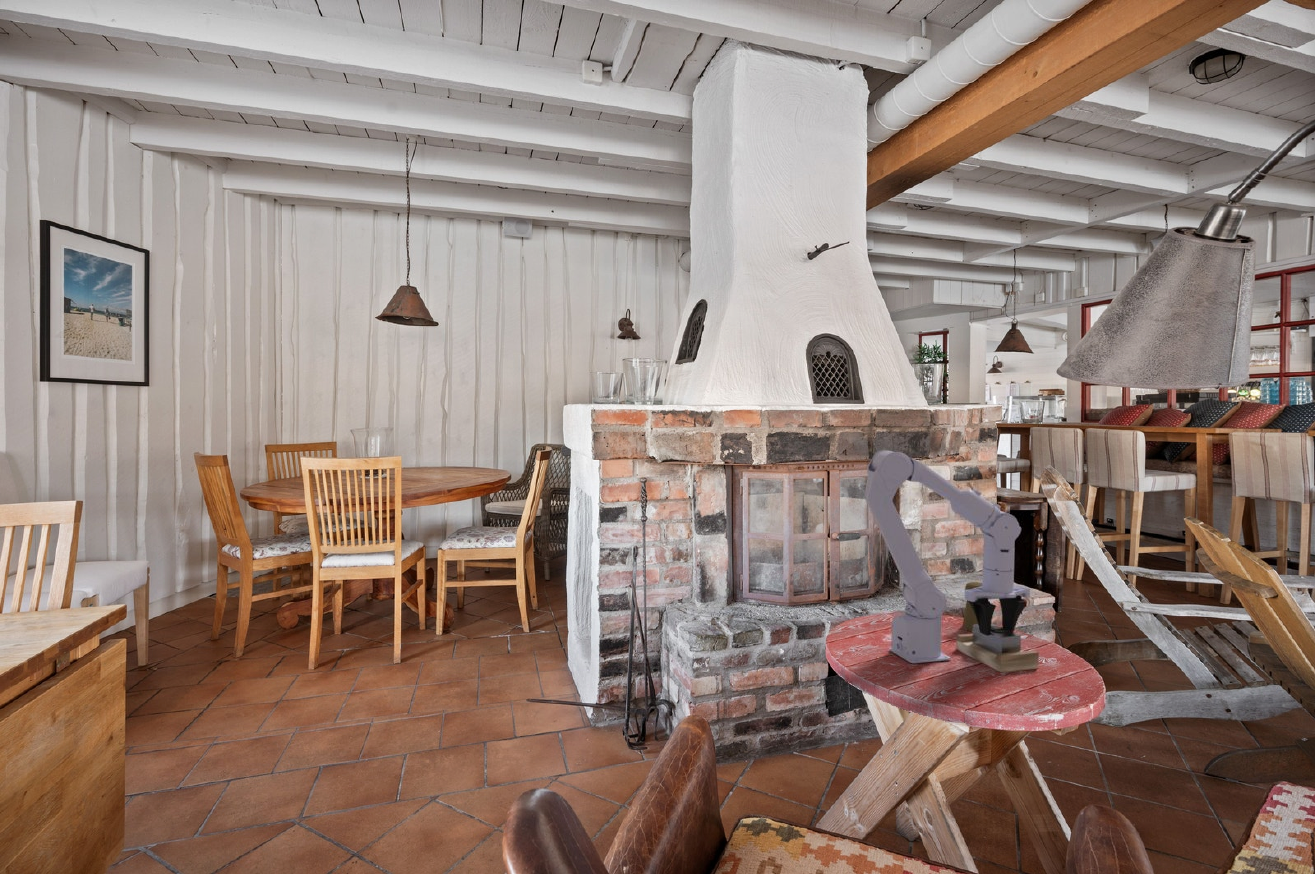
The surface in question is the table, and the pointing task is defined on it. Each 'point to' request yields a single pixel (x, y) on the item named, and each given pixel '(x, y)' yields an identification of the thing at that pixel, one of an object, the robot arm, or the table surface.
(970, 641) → the stand
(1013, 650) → the housing
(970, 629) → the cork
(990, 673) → the table surface
